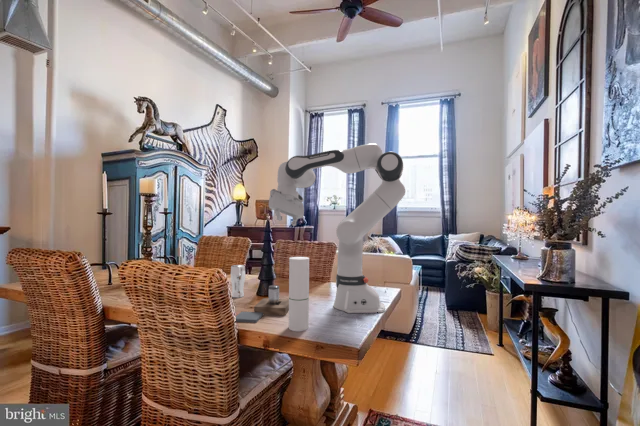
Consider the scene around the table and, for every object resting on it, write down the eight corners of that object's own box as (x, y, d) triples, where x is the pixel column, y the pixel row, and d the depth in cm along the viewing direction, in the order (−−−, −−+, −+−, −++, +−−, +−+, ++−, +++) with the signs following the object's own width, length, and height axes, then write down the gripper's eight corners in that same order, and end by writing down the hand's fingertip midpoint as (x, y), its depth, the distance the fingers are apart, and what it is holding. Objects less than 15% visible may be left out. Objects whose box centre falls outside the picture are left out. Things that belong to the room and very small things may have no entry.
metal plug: (280, 308, 134) (280, 285, 134) (277, 311, 130) (277, 287, 130) (270, 308, 134) (270, 285, 134) (267, 311, 130) (267, 287, 130)
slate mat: (263, 314, 125) (263, 312, 125) (256, 322, 116) (256, 319, 116) (241, 313, 126) (241, 311, 126) (233, 321, 117) (233, 318, 117)
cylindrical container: (309, 324, 115) (310, 256, 115) (307, 331, 108) (307, 259, 108) (290, 323, 116) (291, 256, 116) (286, 330, 108) (287, 259, 109)
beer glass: (227, 297, 151) (227, 266, 151) (236, 293, 158) (236, 264, 158) (239, 298, 149) (240, 267, 149) (247, 295, 155) (248, 265, 155)
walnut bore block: (291, 306, 138) (291, 299, 138) (285, 315, 125) (285, 308, 125) (263, 304, 139) (263, 298, 139) (254, 314, 126) (254, 306, 126)
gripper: (275, 185, 135) (275, 215, 130) (305, 199, 151) (306, 226, 146) (265, 189, 139) (265, 218, 134) (295, 202, 154) (296, 229, 149)
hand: (286, 222), depth 140 cm, fingers open, 8 cm apart
